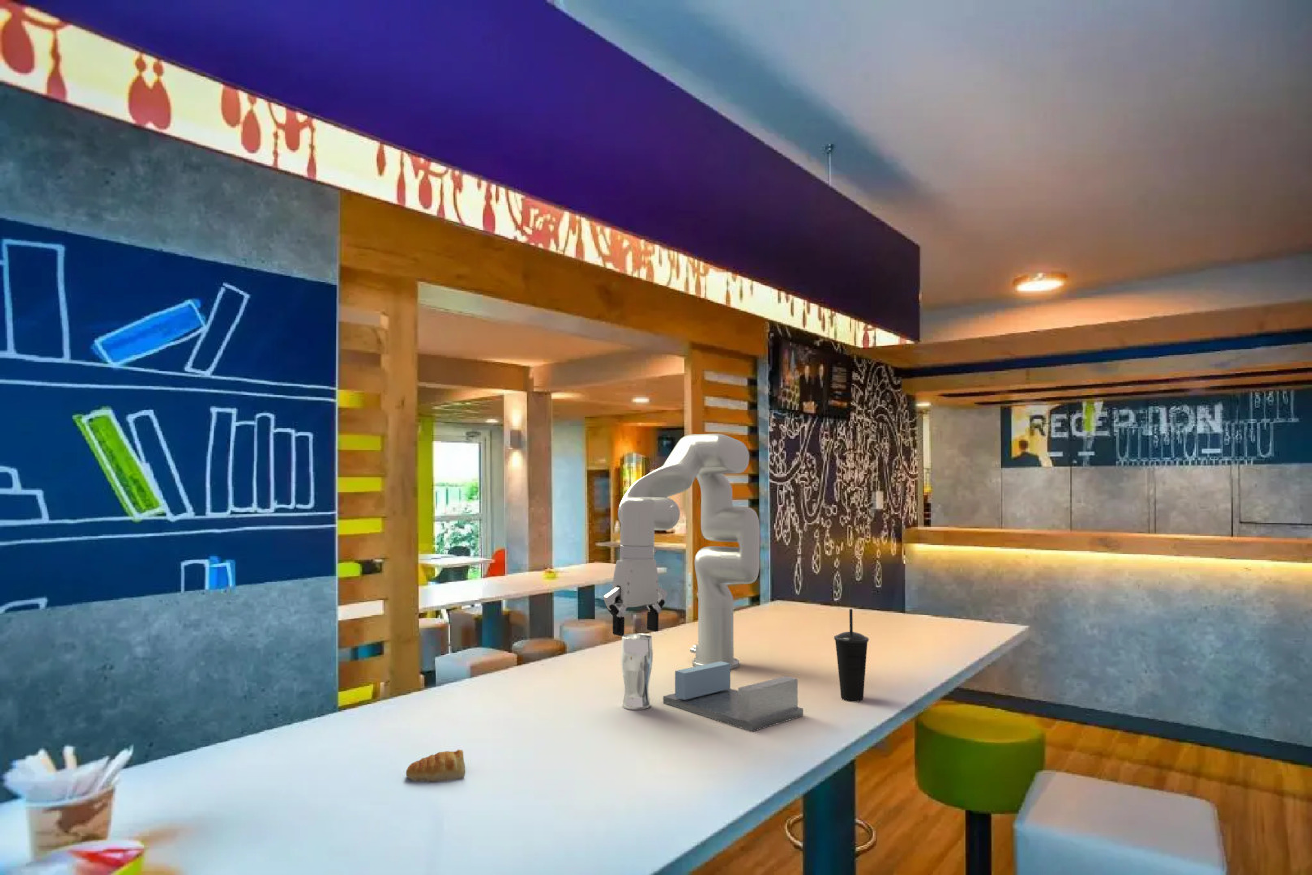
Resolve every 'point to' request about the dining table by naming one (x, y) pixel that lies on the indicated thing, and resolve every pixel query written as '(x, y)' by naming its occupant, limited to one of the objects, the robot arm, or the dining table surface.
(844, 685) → the drinking cup
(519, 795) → the dining table surface
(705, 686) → the bar
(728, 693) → the vise base
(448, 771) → the pastry
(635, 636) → the beer glass
